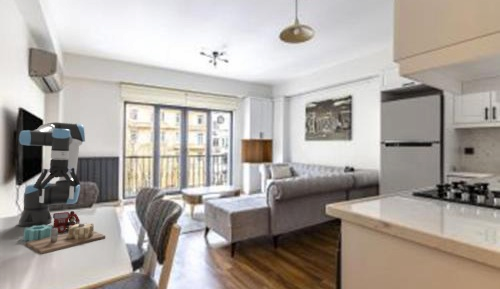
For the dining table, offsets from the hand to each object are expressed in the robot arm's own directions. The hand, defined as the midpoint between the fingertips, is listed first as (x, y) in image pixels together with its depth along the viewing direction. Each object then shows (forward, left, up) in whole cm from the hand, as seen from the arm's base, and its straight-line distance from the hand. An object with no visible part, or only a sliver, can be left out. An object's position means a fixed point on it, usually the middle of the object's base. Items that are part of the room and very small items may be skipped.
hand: (56, 200), depth 137 cm
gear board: (+11, +1, -19) cm, 21 cm away
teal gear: (-4, -6, -19) cm, 20 cm away
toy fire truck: (-7, +8, -19) cm, 22 cm away
